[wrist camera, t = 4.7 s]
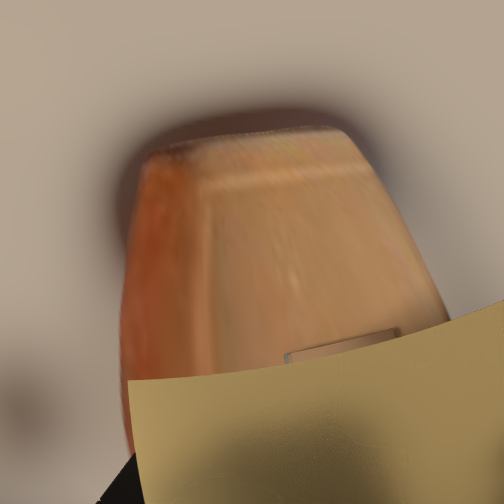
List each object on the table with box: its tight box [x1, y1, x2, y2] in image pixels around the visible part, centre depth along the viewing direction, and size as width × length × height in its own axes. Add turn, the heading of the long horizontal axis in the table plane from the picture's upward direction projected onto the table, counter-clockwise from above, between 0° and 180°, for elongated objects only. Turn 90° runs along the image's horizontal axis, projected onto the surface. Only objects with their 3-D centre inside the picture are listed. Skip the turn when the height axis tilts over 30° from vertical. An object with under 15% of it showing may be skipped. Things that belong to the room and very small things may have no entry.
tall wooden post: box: [128, 300, 504, 504], centre depth 6 cm, size 3×5×10 cm, turn 100°
